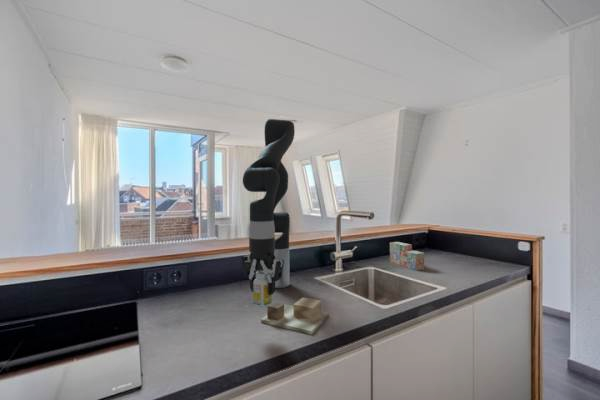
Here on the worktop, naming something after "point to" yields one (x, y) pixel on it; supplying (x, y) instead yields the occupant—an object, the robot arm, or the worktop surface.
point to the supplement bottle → (261, 290)
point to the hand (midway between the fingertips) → (262, 292)
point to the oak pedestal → (307, 308)
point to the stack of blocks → (406, 256)
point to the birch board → (296, 321)
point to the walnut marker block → (275, 311)
